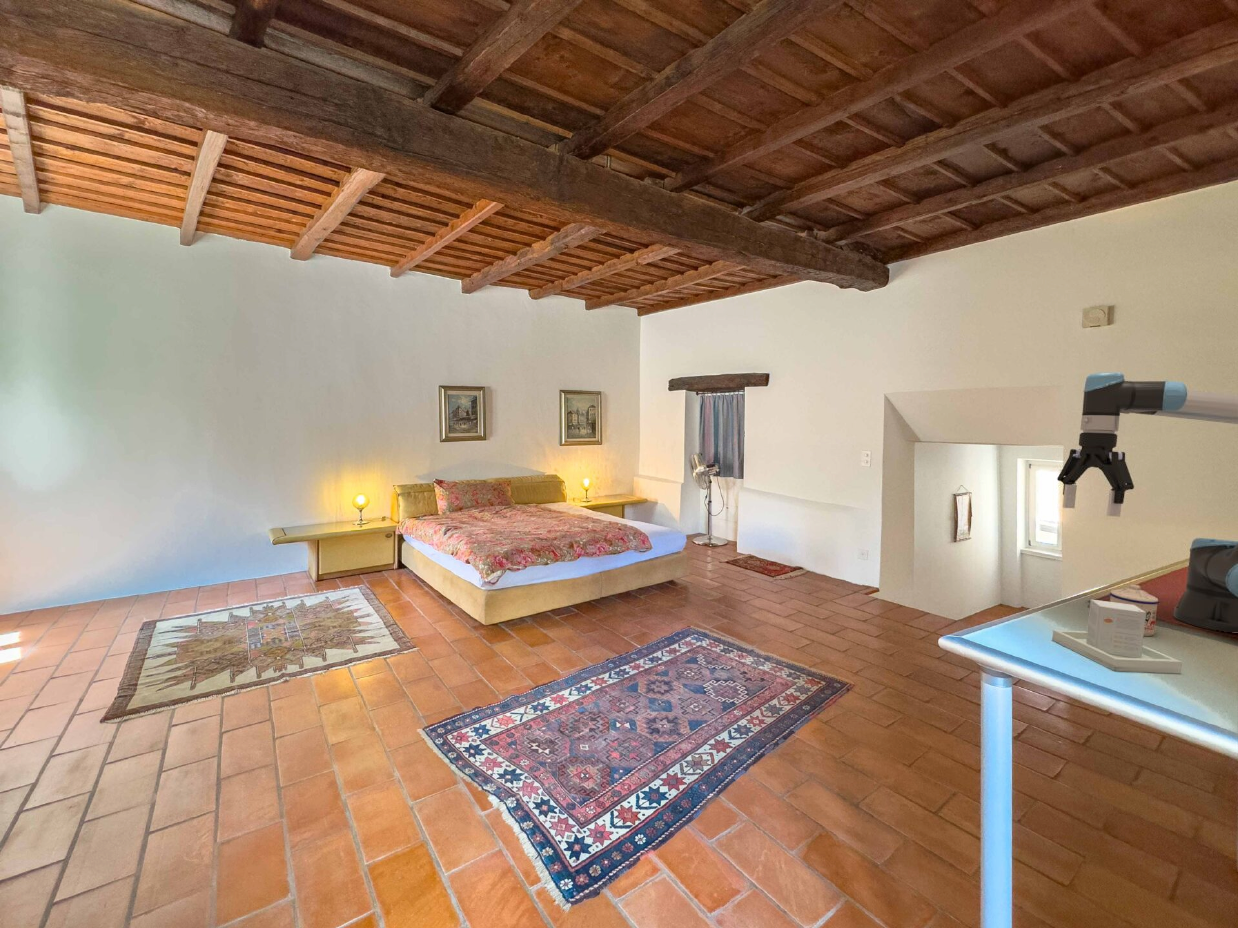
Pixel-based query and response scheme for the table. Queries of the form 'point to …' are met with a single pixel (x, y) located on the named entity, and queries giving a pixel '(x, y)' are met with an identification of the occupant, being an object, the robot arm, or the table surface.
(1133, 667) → the sage tray
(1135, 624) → the small box
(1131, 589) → the teacup with lid
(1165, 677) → the table surface
